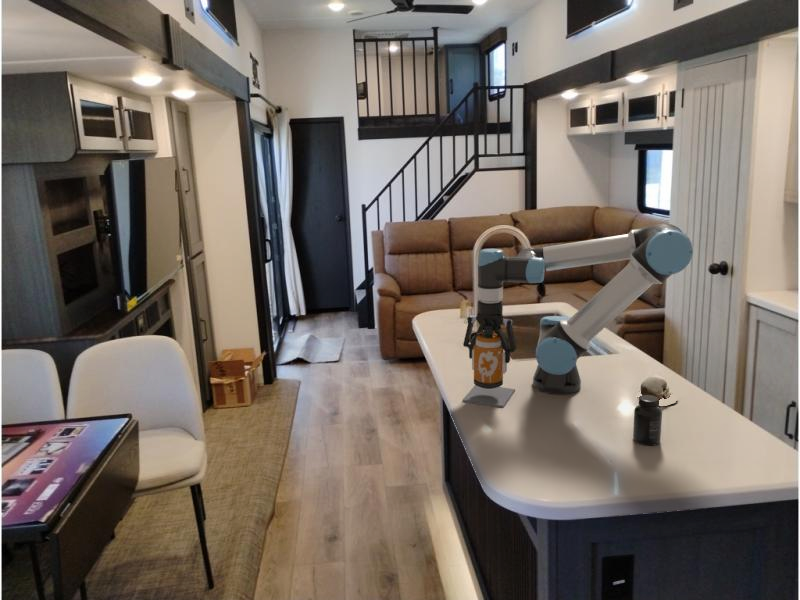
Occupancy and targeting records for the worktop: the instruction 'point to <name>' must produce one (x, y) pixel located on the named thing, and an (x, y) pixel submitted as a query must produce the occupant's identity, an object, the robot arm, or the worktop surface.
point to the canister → (488, 359)
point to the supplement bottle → (647, 421)
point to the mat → (489, 396)
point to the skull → (655, 387)
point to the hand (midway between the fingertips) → (489, 370)
